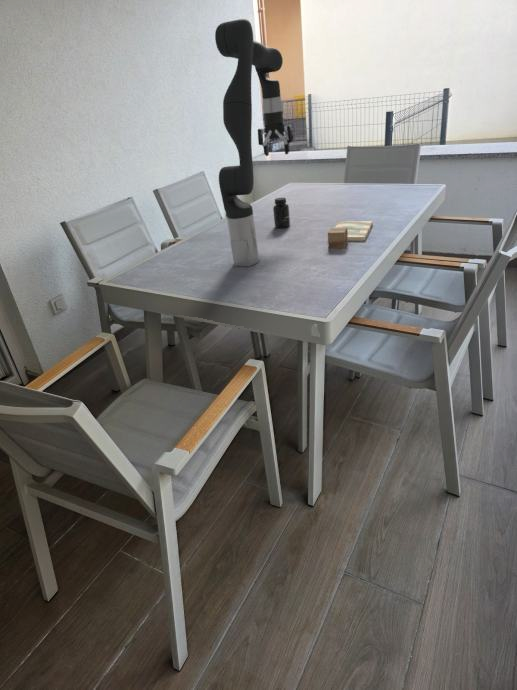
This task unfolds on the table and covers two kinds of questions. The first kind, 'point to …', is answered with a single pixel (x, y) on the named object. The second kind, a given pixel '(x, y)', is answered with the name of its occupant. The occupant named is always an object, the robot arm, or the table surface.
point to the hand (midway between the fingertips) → (277, 154)
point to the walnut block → (338, 237)
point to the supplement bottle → (281, 213)
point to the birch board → (356, 229)
